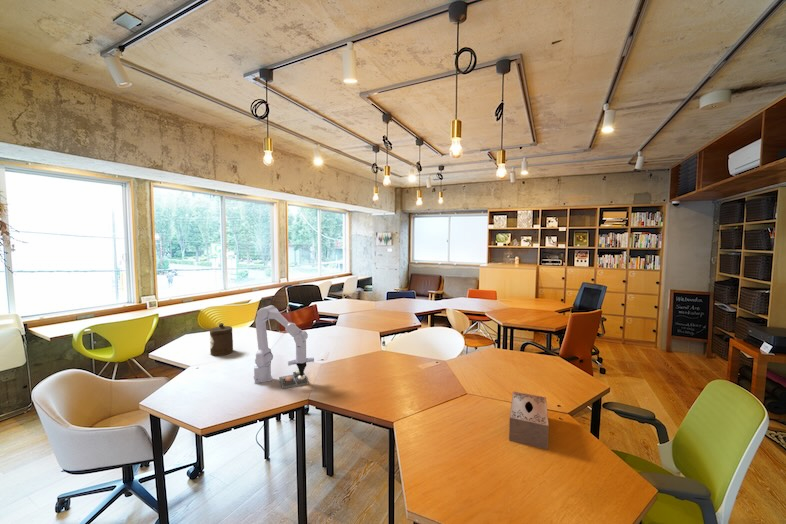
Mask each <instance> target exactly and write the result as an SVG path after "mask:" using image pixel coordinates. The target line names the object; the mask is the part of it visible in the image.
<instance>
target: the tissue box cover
mask: <svg viewBox="0 0 786 524" xmlns="http://www.w3.org/2000/svg"><path fill="white" fill-rule="evenodd" d="M510 405H511V406H510V412H509V413H510V414H509V428H508V429H509V431H508V433H509V435H508V441H509V442H513V443H518V444H521V445H526V446H529V447H534V448H538V449H543V450H547V451H548V450H549V430H550V429H549V427H550V426H549V416H548V415H549V414H548V406H547V405H548V404H547V397H546V396H540V395H535V394H530V393H524V392H519V391H513V392H512V397H511V404H510Z"/></svg>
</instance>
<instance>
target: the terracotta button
mask: <svg viewBox="0 0 786 524" xmlns="http://www.w3.org/2000/svg"><path fill="white" fill-rule="evenodd" d="M285 381H286V382H289V381H292V377H290V376H289V377H286V378H285Z"/></svg>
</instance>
